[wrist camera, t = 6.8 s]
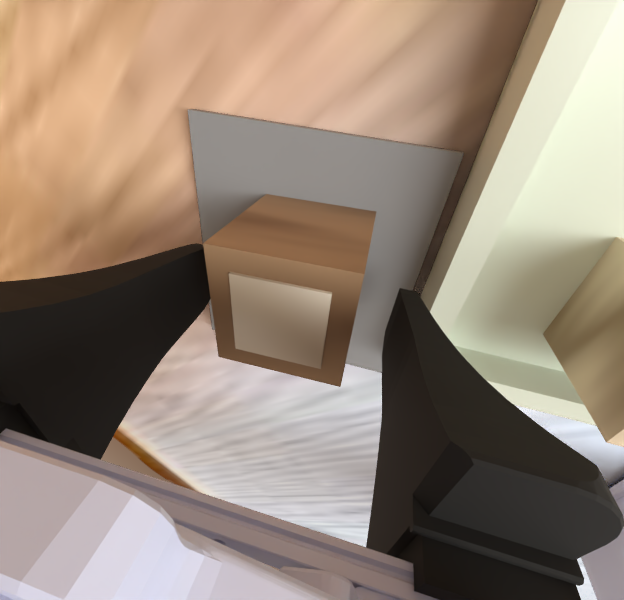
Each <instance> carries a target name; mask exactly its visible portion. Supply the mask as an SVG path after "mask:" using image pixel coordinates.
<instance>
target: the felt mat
mask: <svg viewBox="0 0 624 600" xmlns="http://www.w3.org/2000/svg"><path fill="white" fill-rule="evenodd" d="M188 117H189V126H190V135H191V144H192V153H193V162H194V170H195V179H196V188H197V197H198V206H199V215H200V224H201V233H202V242H203V243H204V242H205V241H207V240H208V239H209V238H211V237H212V236H213V235H214V234H216V233H217V232H218V231H220V230H221V229H222V228H223V227H225V226H226V225H227V224H229V223H230V222H231V221H232V220H234V219H235V218H236V217H238V216H239V215H240V214H241V213H243V212H244V211H245V210H247V209H248V208H249V207H250V206H252V205H253V204H254V203H256V202H257V201H258V200H259V199H261V198H262V197H263V196H265V195H266V194H270V195H276V196H282V197H289V198H295V199H301V200H307V201H314V202H320V203H326V204H332V205H339V206H345V207H351V208H357V209H364V210H370V211H376V217H375V222H374V227H373V232H372V238H371V243H370V248H369V253H368V258H367V264H366V269H365V274H364V279H363V283H362V288H361V293H360V297H359V302H358V307H357V311H356V316H355V321H354V325H353V330H352V335H351V339H350V344H349V349H348V353H347V358H346V364H350V365H354V366H357V367H361V368H365V369H369V370H373V371H377V372H381V373H382V350H383V342H384V335H385V330H386V327H387V324H388V321H389V318H390V315H391V312H392V309H393V306H394V303H395V300H396V297H397V294H398V291H399V288H402V289H406V290H411V291H413V288H414V286H415V283H416V280H417V278H418V275H419V272H420V270H421V267H422V264H423V262H424V259H425V256H426V254H427V251H428V248H429V246H430V243H431V240H432V238H433V235H434V232H435V230H436V227H437V224H438V222H439V219H440V216H441V214H442V211H443V208H444V206H445V203H446V200H447V198H448V195H449V192H450V189H451V187H452V184H453V181H454V179H455V176H456V173H457V171H458V168H459V165H460V163H461V160H462V157H463V155H464V153H463V152H461V151H455V150H448V149H442V148H436V147H429V146H423V145H417V144H411V143H404V142H398V141H392V140H385V139H379V138H373V137H367V136H360V135H354V134H348V133H341V132H335V131H329V130H323V129H316V128H310V127H304V126H297V125H291V124H285V123H278V122H272V121H266V120H260V119H253V118H247V117H241V116H234V115H228V114H222V113H216V112H209V111H203V110H197V109H188ZM209 304H210V313H211V322H212V329H213V330H215V326H214V319H213V312H212V304H211V299H210V301H209Z"/></svg>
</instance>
